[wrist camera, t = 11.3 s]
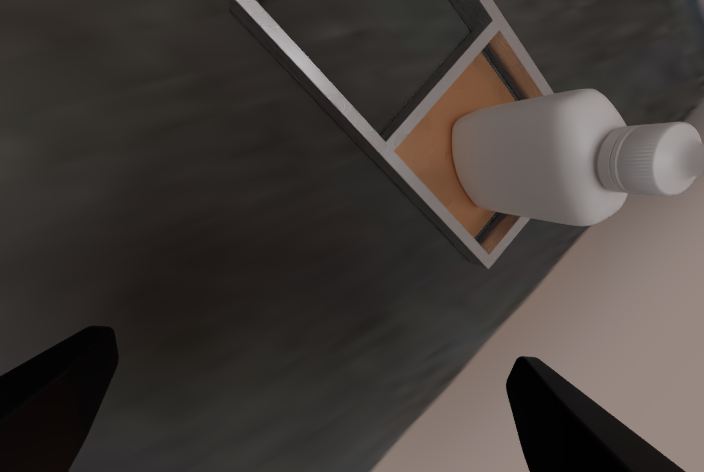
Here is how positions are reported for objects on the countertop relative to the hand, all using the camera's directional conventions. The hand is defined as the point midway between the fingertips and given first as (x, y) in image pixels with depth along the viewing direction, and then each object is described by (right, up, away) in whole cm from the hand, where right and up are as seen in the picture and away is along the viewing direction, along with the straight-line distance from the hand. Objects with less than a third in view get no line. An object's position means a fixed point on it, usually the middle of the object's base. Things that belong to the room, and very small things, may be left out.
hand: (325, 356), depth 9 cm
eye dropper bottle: (+8, +7, +14) cm, 18 cm away
